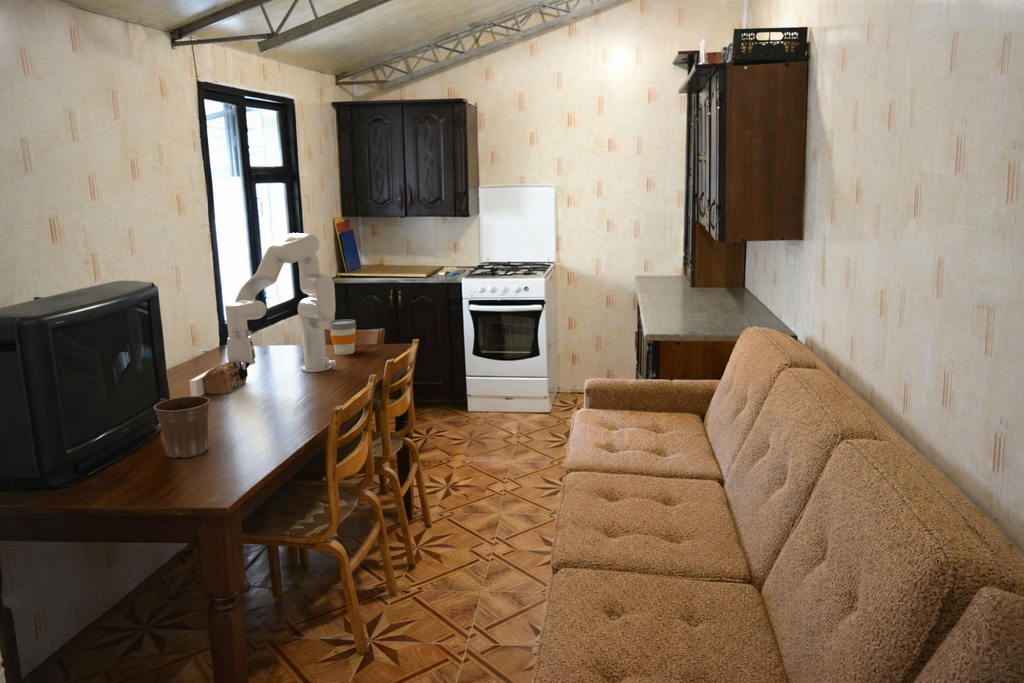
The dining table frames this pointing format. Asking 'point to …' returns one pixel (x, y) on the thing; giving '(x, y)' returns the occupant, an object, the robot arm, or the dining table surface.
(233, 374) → the bread
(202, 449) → the plant pot
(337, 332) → the reusable coffee cup
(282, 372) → the dining table surface
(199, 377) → the board
